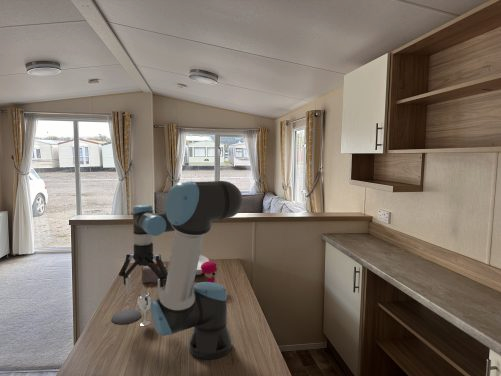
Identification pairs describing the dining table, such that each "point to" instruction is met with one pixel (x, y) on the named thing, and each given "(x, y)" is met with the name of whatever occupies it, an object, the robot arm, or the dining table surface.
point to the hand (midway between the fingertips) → (144, 293)
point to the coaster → (126, 316)
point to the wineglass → (144, 306)
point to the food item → (150, 274)
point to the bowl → (200, 262)
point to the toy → (209, 270)
